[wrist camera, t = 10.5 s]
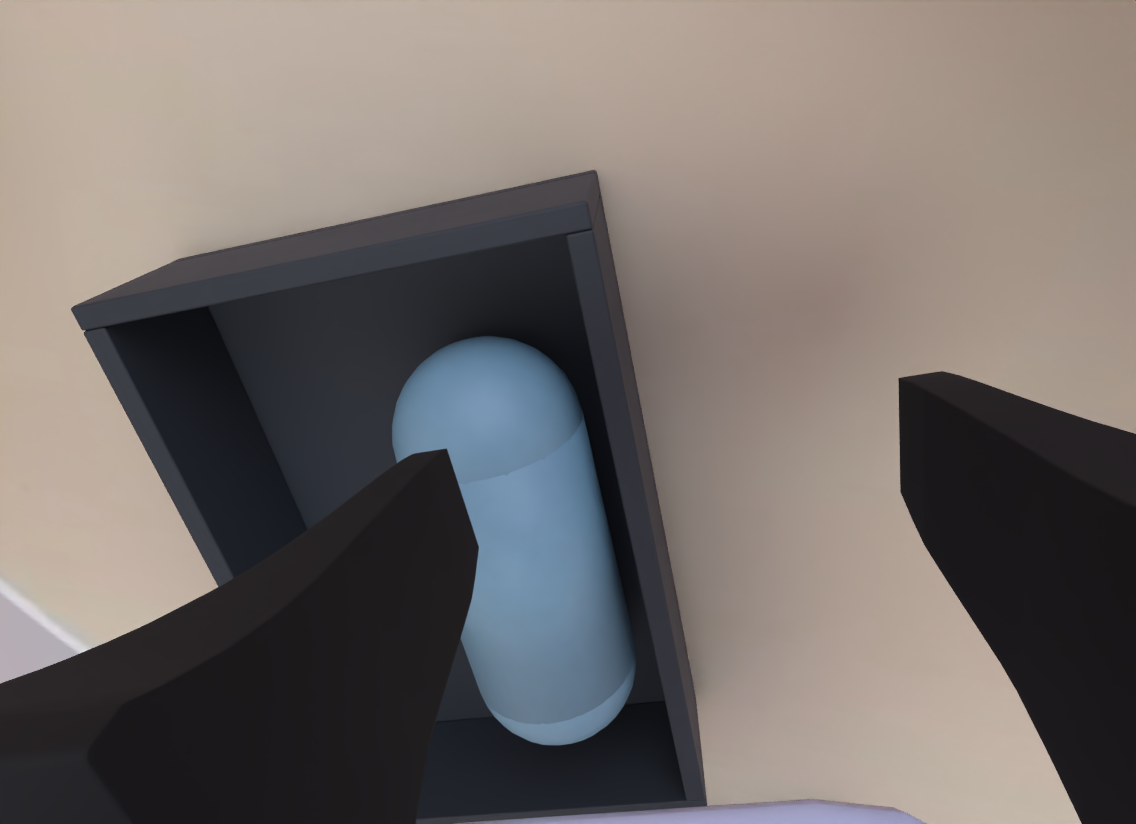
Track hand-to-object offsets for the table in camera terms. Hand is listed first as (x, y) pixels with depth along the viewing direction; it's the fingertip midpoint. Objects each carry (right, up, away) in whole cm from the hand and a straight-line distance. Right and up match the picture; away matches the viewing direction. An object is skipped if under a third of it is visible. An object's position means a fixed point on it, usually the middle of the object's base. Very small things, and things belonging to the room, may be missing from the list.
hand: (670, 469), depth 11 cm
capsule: (-5, -3, +11) cm, 12 cm away
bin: (-5, -2, +12) cm, 13 cm away
